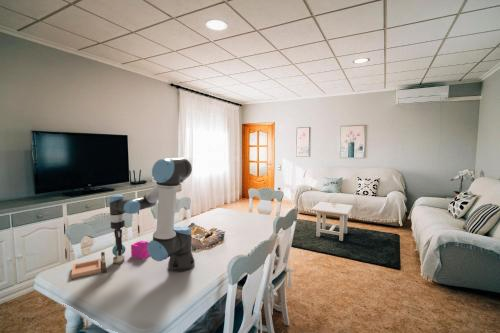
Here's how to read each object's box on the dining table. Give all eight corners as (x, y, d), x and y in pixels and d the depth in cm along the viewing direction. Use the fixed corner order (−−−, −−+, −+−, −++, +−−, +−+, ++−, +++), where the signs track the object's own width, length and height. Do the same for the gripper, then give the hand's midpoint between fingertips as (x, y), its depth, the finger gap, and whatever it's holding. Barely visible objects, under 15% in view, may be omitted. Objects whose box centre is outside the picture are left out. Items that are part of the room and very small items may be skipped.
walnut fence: (106, 272, 135) (105, 263, 135) (102, 273, 134) (101, 264, 134) (104, 259, 150) (104, 251, 149) (101, 260, 149) (101, 252, 148)
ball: (126, 256, 146) (125, 245, 145) (112, 259, 142) (112, 247, 141) (125, 252, 151) (124, 241, 151) (112, 254, 148) (111, 243, 147)
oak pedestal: (124, 262, 146) (124, 258, 146) (113, 265, 143) (113, 260, 143) (123, 258, 151) (123, 254, 151) (112, 261, 148) (112, 256, 148)
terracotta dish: (101, 272, 135) (101, 268, 135) (71, 279, 128) (71, 274, 127) (100, 262, 146) (100, 258, 146) (73, 268, 139) (73, 264, 139)
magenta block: (144, 259, 152) (144, 243, 151) (131, 256, 155) (130, 241, 154) (157, 251, 163) (157, 236, 162) (144, 249, 166) (144, 234, 165)
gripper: (126, 224, 139) (128, 262, 140) (123, 216, 155) (124, 250, 157) (111, 226, 135) (113, 266, 136) (109, 217, 151) (111, 253, 153)
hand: (119, 257), depth 147 cm, fingers closed on ball, 7 cm apart
